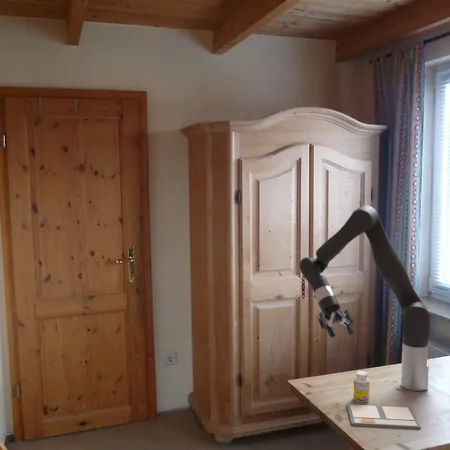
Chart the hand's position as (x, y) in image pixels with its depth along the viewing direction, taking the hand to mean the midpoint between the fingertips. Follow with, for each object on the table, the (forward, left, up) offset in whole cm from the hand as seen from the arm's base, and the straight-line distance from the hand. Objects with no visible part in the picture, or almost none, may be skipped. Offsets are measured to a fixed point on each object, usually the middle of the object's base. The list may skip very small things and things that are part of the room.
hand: (343, 335), depth 194 cm
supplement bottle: (-6, +10, -21) cm, 24 cm away
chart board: (-11, +23, -21) cm, 33 cm away
